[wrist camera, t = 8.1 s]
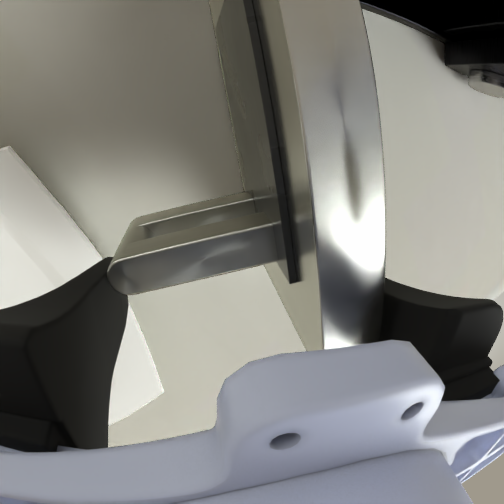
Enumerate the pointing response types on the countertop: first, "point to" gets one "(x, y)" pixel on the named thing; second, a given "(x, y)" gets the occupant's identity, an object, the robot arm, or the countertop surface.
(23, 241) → the plate
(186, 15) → the countertop surface
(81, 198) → the countertop surface
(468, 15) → the microwave
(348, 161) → the microwave door
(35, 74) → the countertop surface
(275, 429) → the robot arm
